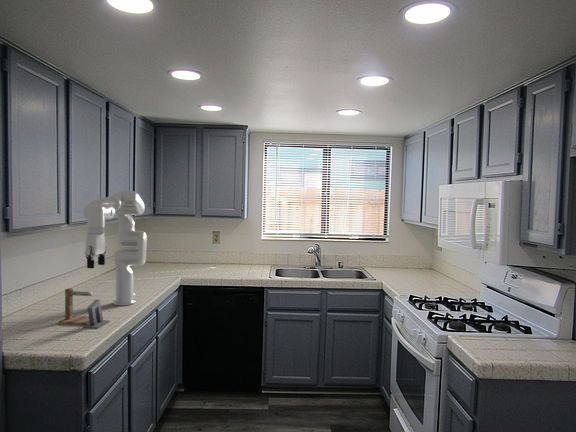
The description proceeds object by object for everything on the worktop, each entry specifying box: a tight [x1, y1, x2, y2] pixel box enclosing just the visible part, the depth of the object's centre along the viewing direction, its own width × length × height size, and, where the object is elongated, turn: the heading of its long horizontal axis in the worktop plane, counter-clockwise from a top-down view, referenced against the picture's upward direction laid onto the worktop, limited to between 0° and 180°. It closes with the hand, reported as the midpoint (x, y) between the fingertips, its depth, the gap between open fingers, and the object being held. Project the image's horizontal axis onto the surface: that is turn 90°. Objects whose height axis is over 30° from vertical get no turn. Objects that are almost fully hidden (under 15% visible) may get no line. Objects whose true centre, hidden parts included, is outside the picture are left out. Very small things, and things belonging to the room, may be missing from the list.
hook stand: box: [58, 288, 93, 326], centre depth 208 cm, size 14×10×16 cm
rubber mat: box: [82, 319, 110, 329], centre depth 204 cm, size 11×8×1 cm
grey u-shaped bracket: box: [86, 299, 104, 326], centre depth 203 cm, size 8×2×11 cm, turn 175°
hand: (96, 266), depth 203 cm, fingers open, 9 cm apart
